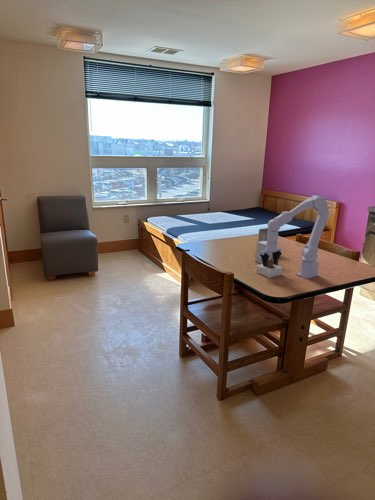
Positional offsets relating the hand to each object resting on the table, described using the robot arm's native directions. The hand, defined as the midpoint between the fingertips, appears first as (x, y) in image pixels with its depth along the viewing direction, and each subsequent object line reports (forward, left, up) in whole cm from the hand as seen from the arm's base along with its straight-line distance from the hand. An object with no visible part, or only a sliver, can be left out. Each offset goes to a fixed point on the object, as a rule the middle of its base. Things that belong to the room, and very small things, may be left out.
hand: (269, 265), depth 193 cm
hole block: (0, 0, -5) cm, 5 cm away
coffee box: (-29, -31, -5) cm, 43 cm away
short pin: (-11, -6, -5) cm, 13 cm away
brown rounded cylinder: (0, 0, -5) cm, 5 cm away
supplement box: (-12, -16, -5) cm, 21 cm away
